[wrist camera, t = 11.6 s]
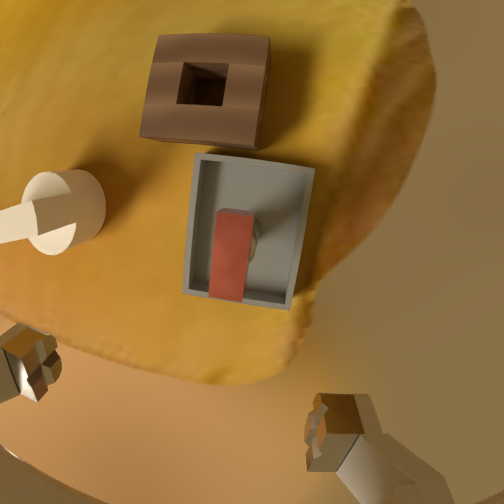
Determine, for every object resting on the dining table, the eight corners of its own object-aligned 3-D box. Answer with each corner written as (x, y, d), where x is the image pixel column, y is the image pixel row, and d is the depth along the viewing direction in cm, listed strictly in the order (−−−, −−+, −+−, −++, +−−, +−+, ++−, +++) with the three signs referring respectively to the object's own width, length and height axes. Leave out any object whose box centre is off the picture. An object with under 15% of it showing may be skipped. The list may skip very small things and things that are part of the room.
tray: (202, 154, 29) (195, 152, 26) (311, 168, 29) (315, 168, 26) (190, 282, 33) (182, 293, 30) (288, 298, 33) (289, 310, 30)
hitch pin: (234, 197, 29) (212, 211, 19) (265, 201, 29) (258, 217, 19) (227, 255, 31) (204, 296, 21) (256, 260, 31) (246, 303, 21)
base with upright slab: (100, 162, 30) (29, 164, 19) (112, 238, 32) (47, 270, 21) (47, 177, 31) (-21, 187, 19) (58, 245, 33) (-5, 274, 22)
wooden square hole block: (177, 55, 26) (158, 35, 21) (270, 60, 26) (269, 36, 20) (163, 141, 29) (139, 136, 23) (257, 150, 29) (253, 145, 23)
